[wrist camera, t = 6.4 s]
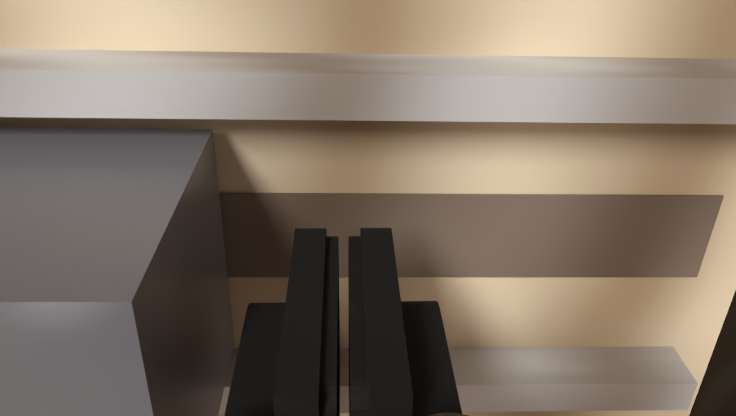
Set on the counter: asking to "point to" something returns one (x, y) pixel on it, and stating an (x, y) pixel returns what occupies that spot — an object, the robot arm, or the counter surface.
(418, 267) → the fader board
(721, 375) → the counter surface
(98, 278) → the fader knob
